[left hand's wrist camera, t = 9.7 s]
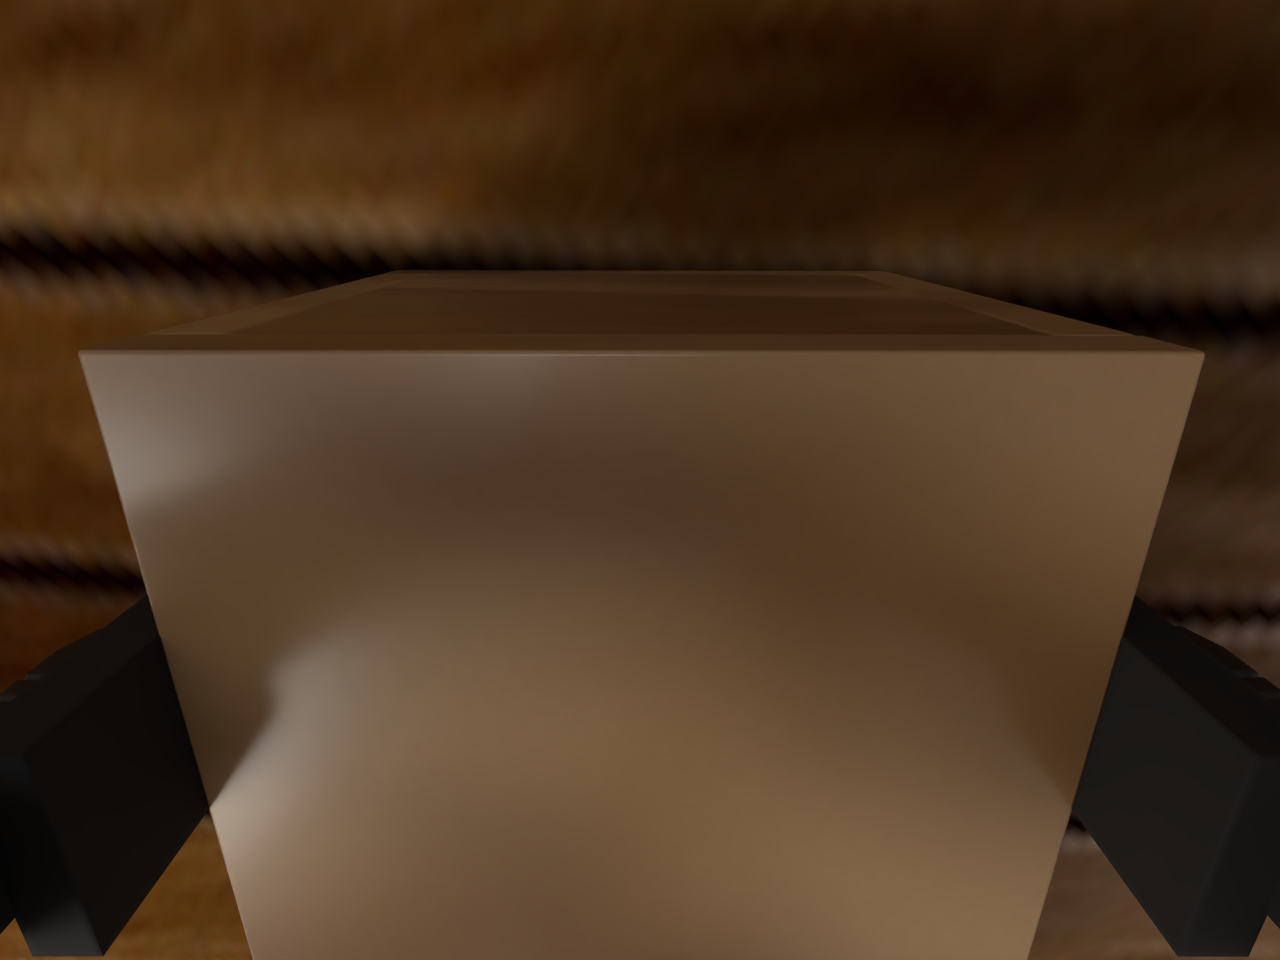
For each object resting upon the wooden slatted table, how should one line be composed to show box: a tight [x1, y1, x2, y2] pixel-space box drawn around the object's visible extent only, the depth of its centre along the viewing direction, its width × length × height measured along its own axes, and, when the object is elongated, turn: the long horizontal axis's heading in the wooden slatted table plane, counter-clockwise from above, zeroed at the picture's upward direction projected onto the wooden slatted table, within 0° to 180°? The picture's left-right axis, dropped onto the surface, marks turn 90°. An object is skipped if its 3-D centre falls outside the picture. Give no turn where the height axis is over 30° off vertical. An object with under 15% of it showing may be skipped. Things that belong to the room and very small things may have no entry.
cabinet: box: [78, 270, 1205, 960], centre depth 15 cm, size 21×12×10 cm, turn 0°
